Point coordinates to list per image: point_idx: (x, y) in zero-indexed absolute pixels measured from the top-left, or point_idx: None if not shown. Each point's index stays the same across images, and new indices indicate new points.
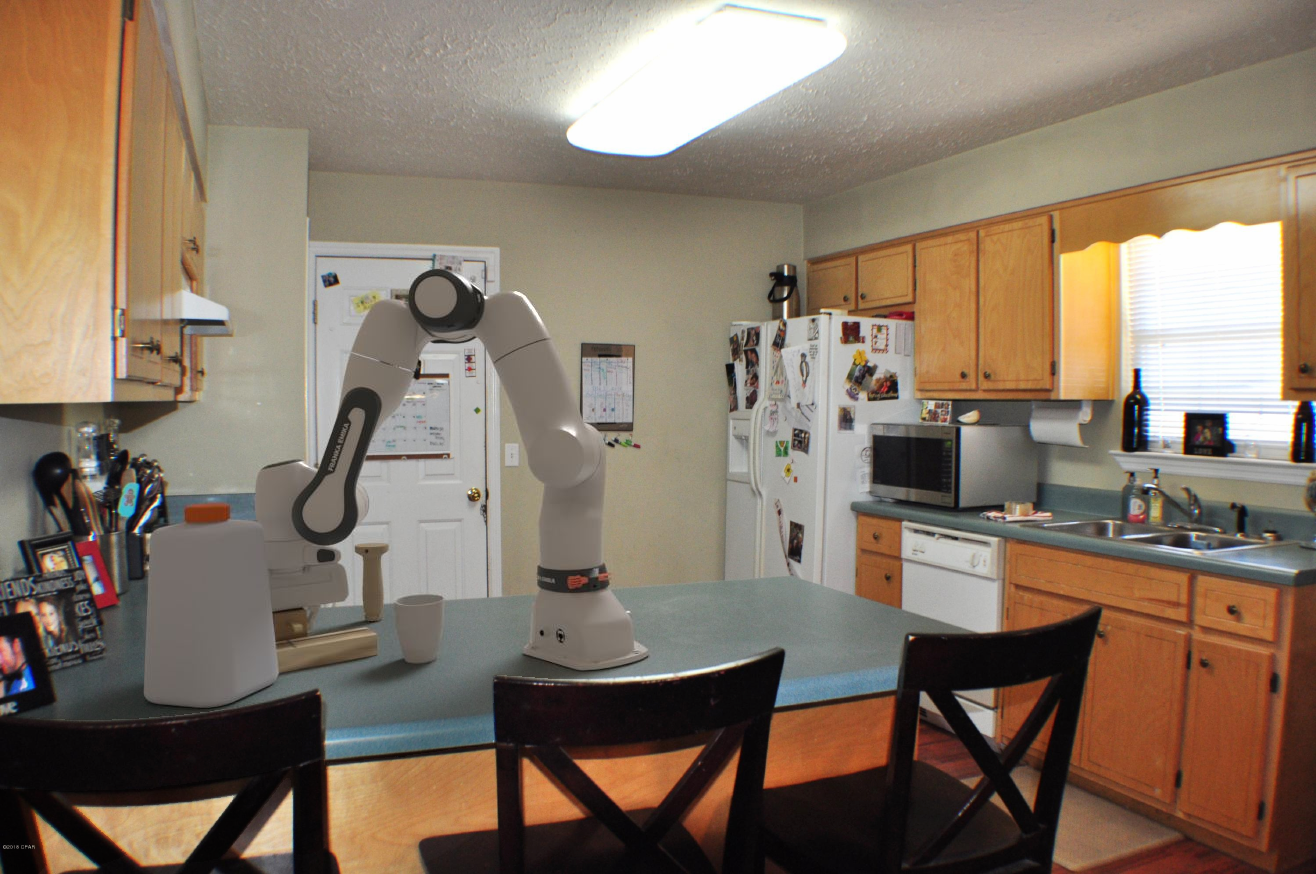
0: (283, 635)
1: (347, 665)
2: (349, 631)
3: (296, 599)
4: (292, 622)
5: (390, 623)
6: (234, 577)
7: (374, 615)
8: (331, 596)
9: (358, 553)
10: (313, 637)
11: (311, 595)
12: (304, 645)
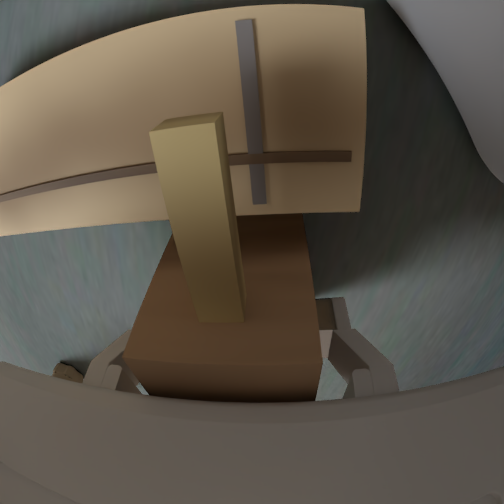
0: (272, 264)
1: (69, 6)
2: (13, 211)
3: (167, 446)
4: (218, 277)
5: (35, 340)
6: None
7: (61, 373)
8: (17, 394)
9: None
10: (131, 192)
11: (85, 438)
12: (187, 41)
